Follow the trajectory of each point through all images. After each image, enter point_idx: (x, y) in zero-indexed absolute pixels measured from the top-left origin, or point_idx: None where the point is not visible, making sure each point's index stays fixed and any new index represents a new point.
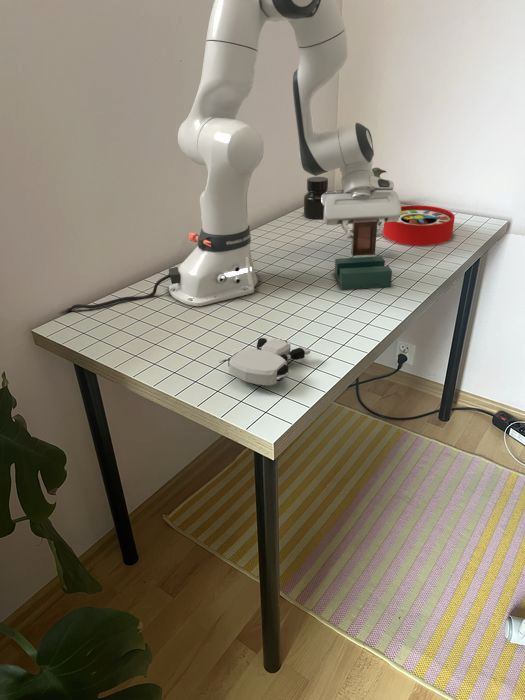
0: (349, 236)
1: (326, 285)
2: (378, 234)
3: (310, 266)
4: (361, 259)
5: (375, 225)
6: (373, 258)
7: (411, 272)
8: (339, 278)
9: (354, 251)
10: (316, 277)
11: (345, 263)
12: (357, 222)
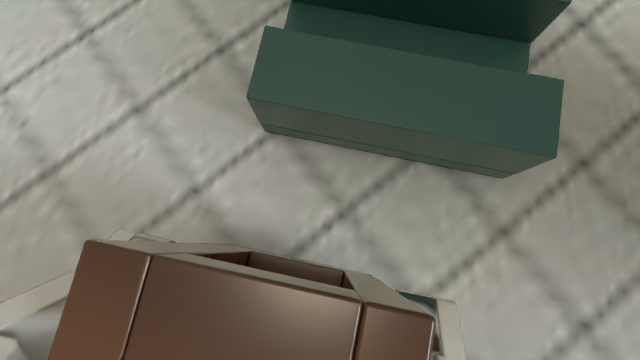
0: (439, 299)
1: (580, 67)
2: (154, 236)
3: (608, 336)
4: (393, 87)
5: (140, 246)
6: (315, 76)
7: (134, 71)
8: (536, 37)
9: (364, 275)
10: (607, 172)
11: (509, 71)
12: (386, 307)
